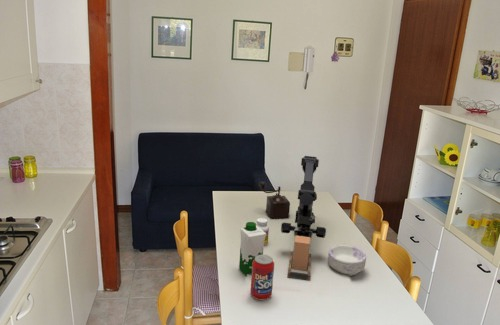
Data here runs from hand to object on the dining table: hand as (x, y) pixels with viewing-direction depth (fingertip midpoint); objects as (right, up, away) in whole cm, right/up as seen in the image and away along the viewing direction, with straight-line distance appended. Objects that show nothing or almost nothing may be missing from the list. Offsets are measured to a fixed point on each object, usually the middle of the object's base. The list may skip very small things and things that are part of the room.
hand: (301, 249), depth 171 cm
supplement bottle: (-17, -2, +16) cm, 23 cm away
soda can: (-17, -13, -20) cm, 30 cm away
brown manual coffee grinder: (-9, +8, +51) cm, 52 cm away
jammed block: (-1, -6, -1) cm, 7 cm away
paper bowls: (+18, -9, +1) cm, 20 cm away
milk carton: (-21, -8, -5) cm, 23 cm away
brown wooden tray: (-1, -8, -2) cm, 9 cm away
